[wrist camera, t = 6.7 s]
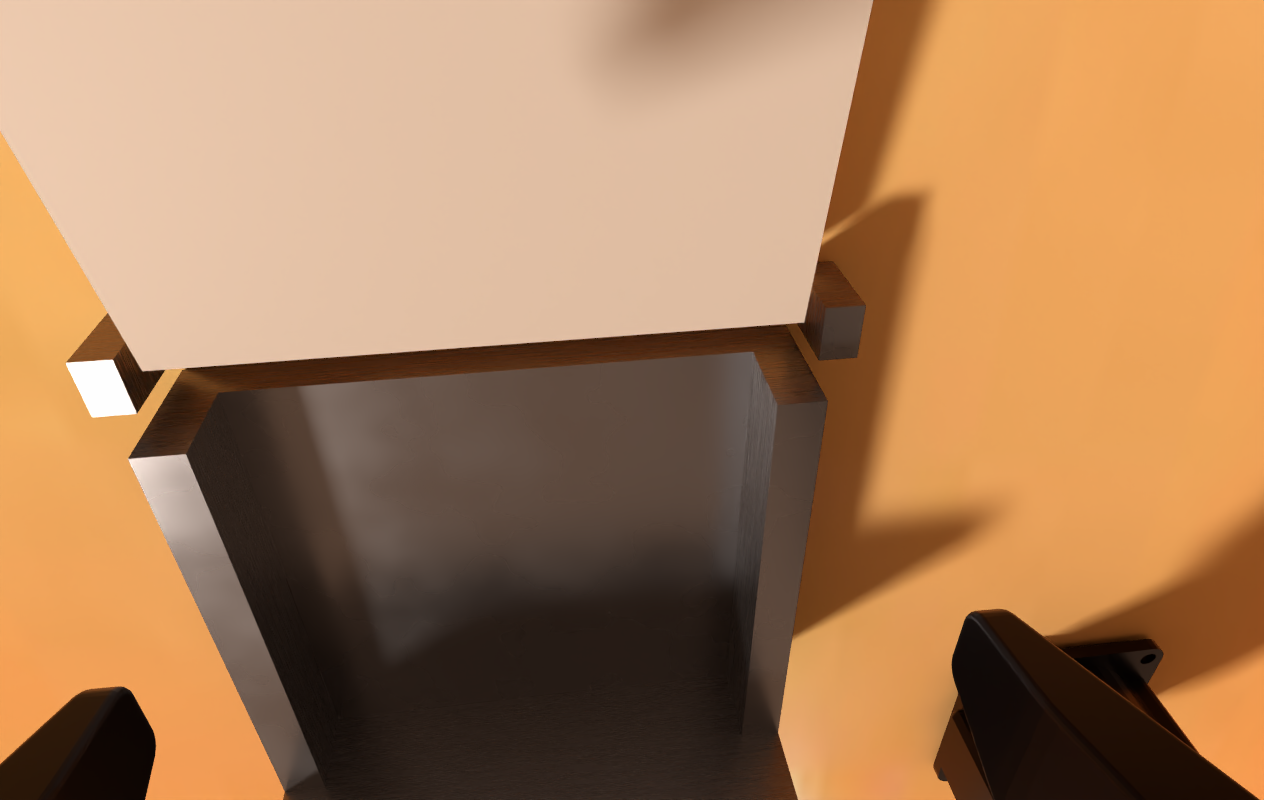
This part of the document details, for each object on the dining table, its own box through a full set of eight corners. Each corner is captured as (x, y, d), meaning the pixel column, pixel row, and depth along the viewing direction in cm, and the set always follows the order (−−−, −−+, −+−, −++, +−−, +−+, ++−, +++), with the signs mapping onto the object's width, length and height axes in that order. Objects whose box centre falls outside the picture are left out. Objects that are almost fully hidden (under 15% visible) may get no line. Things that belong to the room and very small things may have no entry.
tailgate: (804, 322, 16) (888, -74, 11) (142, 371, 15) (-104, -46, 10) (784, 272, 17) (852, -109, 12) (165, 314, 16) (-45, -88, 11)
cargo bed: (777, 660, 25) (855, 902, 20) (285, 715, 24) (214, 992, 18) (833, 261, 18) (987, 467, 12) (110, 309, 16) (-108, 568, 10)
